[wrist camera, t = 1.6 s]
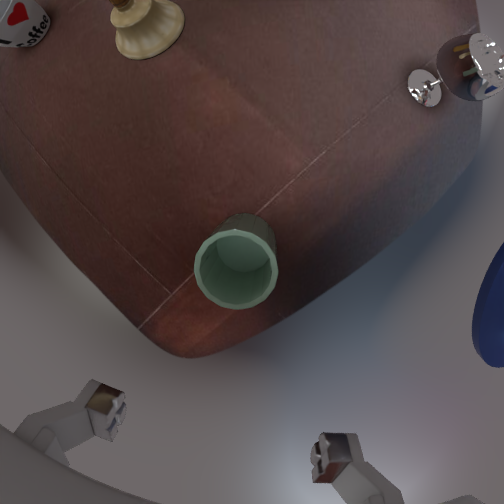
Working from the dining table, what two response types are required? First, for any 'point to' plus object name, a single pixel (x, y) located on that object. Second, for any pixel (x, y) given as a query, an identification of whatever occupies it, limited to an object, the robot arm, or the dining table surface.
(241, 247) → the sage cup
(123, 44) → the hand bell
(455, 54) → the wineglass
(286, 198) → the dining table surface
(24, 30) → the cup
